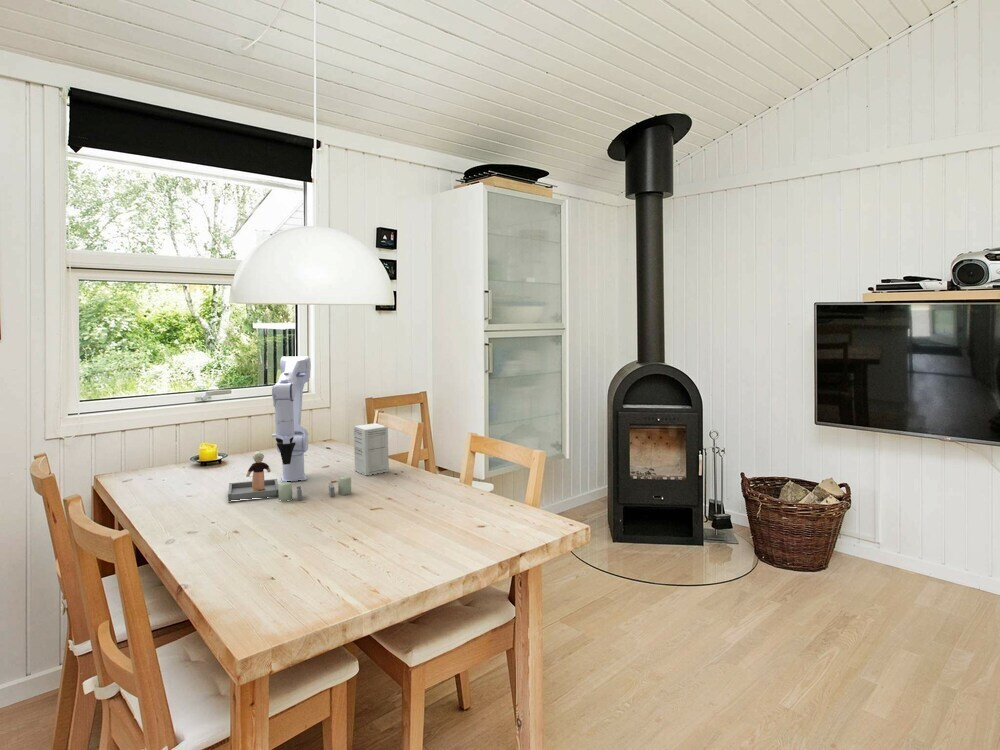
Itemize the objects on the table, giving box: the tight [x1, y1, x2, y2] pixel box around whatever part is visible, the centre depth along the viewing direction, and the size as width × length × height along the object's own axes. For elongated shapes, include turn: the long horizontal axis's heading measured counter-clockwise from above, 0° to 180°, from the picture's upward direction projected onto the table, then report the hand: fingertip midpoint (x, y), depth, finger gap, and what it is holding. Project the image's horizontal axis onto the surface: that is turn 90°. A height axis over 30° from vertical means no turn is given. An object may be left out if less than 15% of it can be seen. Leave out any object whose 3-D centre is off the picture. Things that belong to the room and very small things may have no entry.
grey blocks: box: [296, 482, 336, 501], centre depth 194 cm, size 5×11×3 cm, turn 112°
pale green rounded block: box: [278, 481, 293, 502], centre depth 190 cm, size 4×4×5 cm
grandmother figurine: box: [245, 451, 271, 492], centre depth 197 cm, size 8×4×13 cm, turn 145°
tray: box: [227, 478, 279, 502], centre depth 196 cm, size 14×15×2 cm
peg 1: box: [337, 476, 352, 496], centre depth 197 cm, size 4×4×5 cm
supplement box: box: [353, 422, 390, 476], centre depth 224 cm, size 10×9×17 cm
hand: (285, 461), depth 200 cm, fingers open, 7 cm apart
